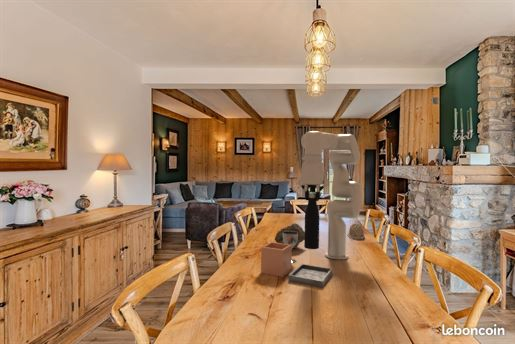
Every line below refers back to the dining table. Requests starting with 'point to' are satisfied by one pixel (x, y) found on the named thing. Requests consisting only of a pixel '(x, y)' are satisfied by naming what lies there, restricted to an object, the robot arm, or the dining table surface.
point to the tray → (311, 275)
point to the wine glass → (290, 239)
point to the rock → (291, 228)
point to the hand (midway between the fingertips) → (312, 200)
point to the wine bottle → (312, 221)
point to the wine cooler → (276, 258)
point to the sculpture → (356, 231)
